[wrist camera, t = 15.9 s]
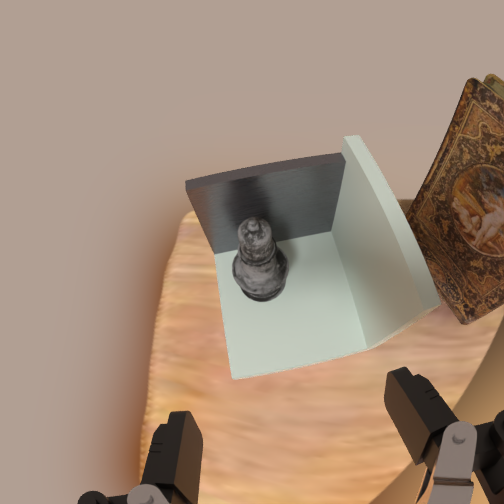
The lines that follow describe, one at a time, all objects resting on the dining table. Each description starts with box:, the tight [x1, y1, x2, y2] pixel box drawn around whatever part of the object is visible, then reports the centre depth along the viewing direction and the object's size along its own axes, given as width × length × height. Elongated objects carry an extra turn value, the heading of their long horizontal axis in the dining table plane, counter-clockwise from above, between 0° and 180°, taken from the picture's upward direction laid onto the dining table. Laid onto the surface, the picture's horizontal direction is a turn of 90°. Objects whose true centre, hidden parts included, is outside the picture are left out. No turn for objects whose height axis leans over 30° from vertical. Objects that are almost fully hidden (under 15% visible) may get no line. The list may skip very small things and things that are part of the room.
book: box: [405, 74, 504, 325], centre depth 22 cm, size 16×6×25 cm, turn 31°
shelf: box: [185, 135, 441, 380], centre depth 27 cm, size 16×16×16 cm
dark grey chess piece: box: [232, 217, 289, 302], centre depth 28 cm, size 6×6×12 cm
